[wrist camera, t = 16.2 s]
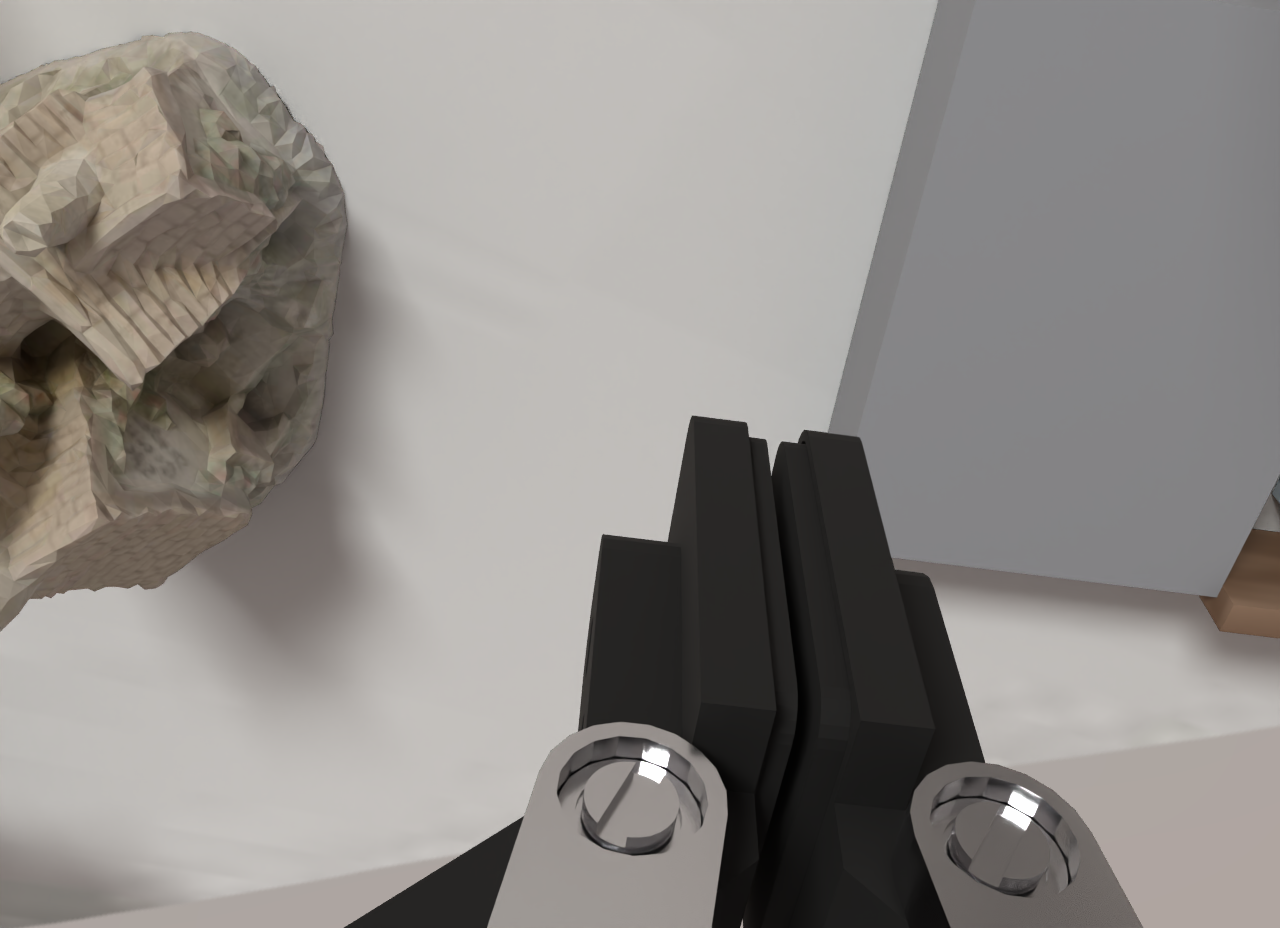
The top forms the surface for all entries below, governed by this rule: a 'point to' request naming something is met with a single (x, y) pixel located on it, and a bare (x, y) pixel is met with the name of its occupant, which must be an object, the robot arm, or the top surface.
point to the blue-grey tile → (1277, 491)
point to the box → (1251, 589)
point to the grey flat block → (1079, 294)
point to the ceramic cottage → (153, 310)
